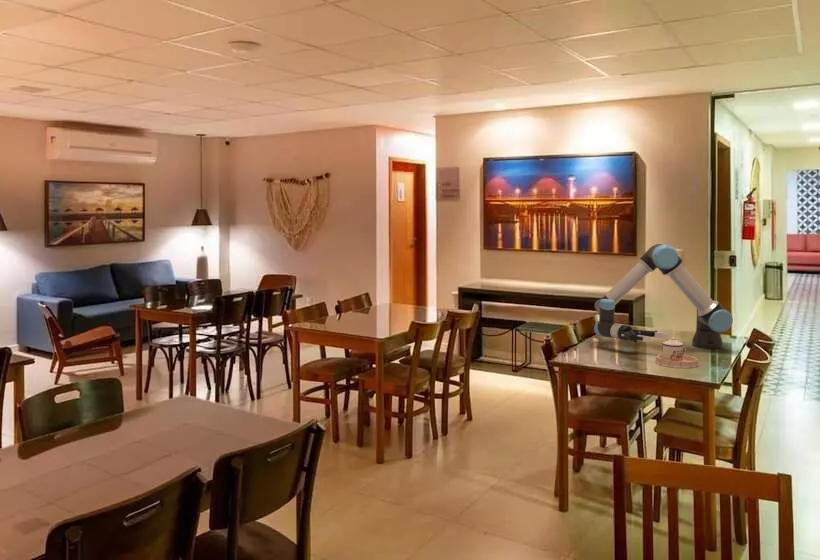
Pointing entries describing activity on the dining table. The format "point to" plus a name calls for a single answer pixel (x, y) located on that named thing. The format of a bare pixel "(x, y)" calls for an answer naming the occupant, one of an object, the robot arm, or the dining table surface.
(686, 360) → the round tray
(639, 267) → the robot arm
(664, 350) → the teacup with lid
